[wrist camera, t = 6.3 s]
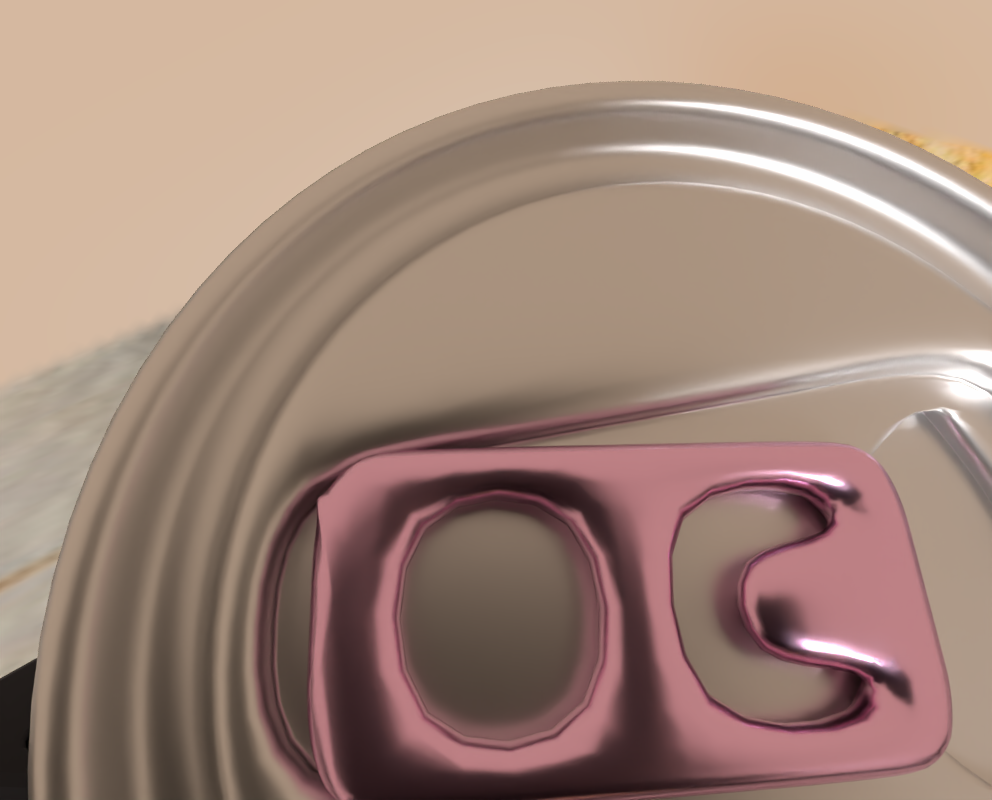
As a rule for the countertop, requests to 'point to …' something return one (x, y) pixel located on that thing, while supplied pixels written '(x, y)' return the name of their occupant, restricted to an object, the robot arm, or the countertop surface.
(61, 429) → the countertop surface
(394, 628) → the beverage can
